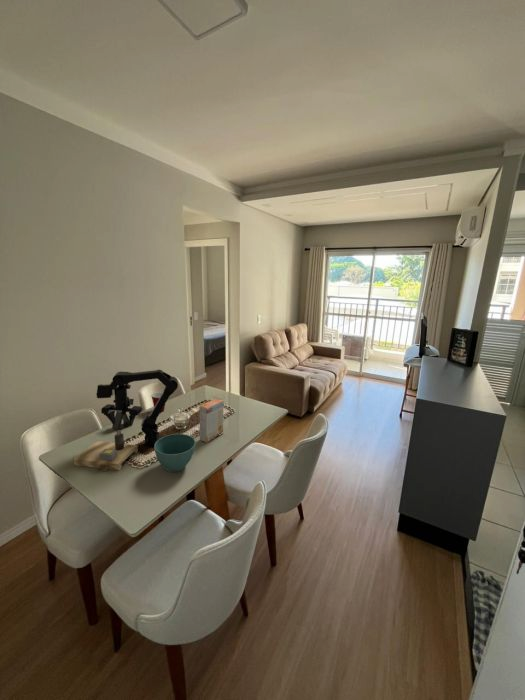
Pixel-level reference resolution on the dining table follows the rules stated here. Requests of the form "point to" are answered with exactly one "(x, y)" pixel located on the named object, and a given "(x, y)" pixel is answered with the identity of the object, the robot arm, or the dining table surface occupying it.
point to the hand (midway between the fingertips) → (122, 425)
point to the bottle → (119, 440)
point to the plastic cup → (156, 399)
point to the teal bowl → (174, 451)
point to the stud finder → (108, 454)
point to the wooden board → (93, 460)
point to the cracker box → (211, 419)
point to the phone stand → (118, 421)
